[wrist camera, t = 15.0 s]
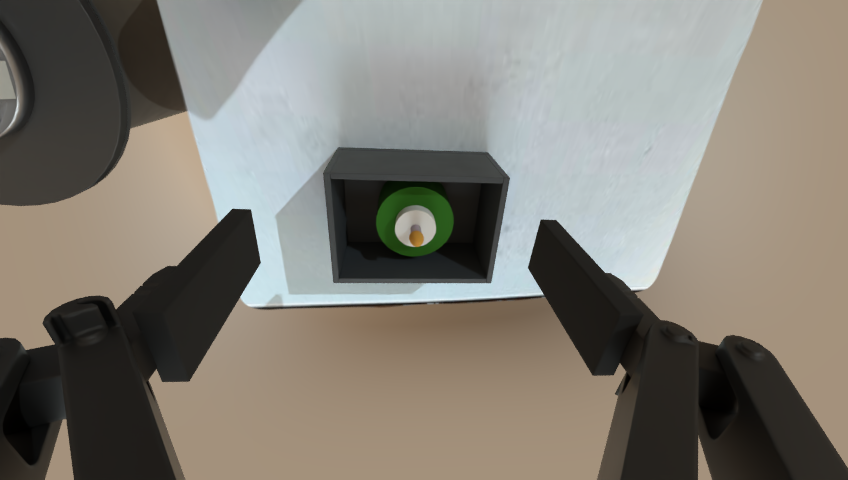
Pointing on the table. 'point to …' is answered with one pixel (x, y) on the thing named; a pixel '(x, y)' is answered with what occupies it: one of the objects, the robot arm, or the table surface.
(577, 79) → the table surface
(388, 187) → the candle
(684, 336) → the robot arm
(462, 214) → the dark grey open box
